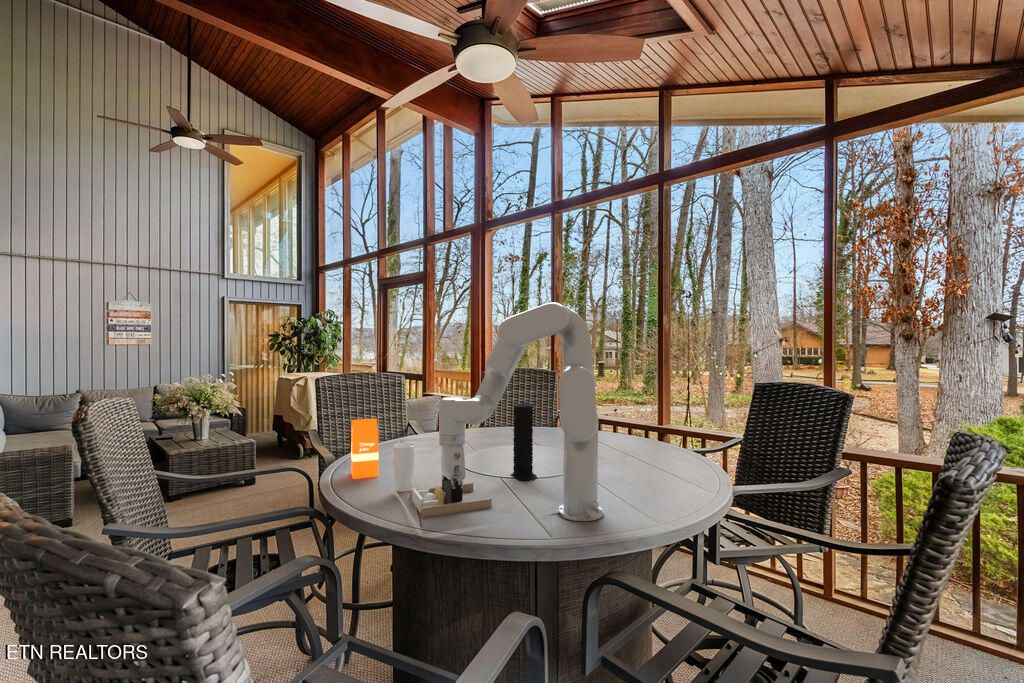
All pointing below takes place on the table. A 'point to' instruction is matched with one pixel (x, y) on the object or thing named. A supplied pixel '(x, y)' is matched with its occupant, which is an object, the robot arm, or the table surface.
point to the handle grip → (523, 442)
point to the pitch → (454, 506)
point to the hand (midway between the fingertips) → (452, 496)
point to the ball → (429, 497)
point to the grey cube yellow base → (444, 493)
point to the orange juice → (364, 448)
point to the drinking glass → (403, 466)
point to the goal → (421, 499)
